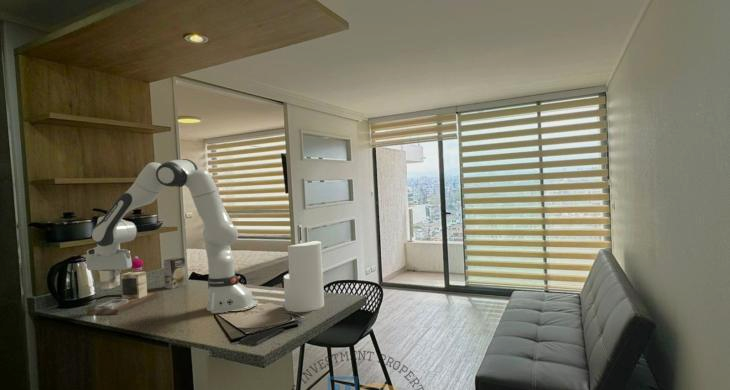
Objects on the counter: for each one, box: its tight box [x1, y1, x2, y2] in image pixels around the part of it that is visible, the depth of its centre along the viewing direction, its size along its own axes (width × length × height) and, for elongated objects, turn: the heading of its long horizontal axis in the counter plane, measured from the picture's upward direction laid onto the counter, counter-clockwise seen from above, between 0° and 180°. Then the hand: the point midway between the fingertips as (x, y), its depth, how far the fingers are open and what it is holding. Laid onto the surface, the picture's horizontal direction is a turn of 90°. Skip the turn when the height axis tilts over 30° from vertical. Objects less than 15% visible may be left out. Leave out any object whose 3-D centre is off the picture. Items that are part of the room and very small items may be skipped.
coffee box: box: [163, 257, 186, 290], centre depth 220 cm, size 9×6×16 cm
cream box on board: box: [86, 271, 159, 315], centre depth 185 cm, size 15×28×14 cm, turn 174°
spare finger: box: [99, 270, 121, 290], centre depth 177 cm, size 7×4×8 cm, turn 175°
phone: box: [239, 327, 285, 347], centre depth 135 cm, size 8×1×15 cm
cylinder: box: [283, 240, 325, 313], centre depth 170 cm, size 17×17×28 cm
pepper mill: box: [131, 255, 144, 272], centre depth 210 cm, size 7×7×20 cm
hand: (110, 279), depth 177 cm, fingers closed on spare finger, 4 cm apart
